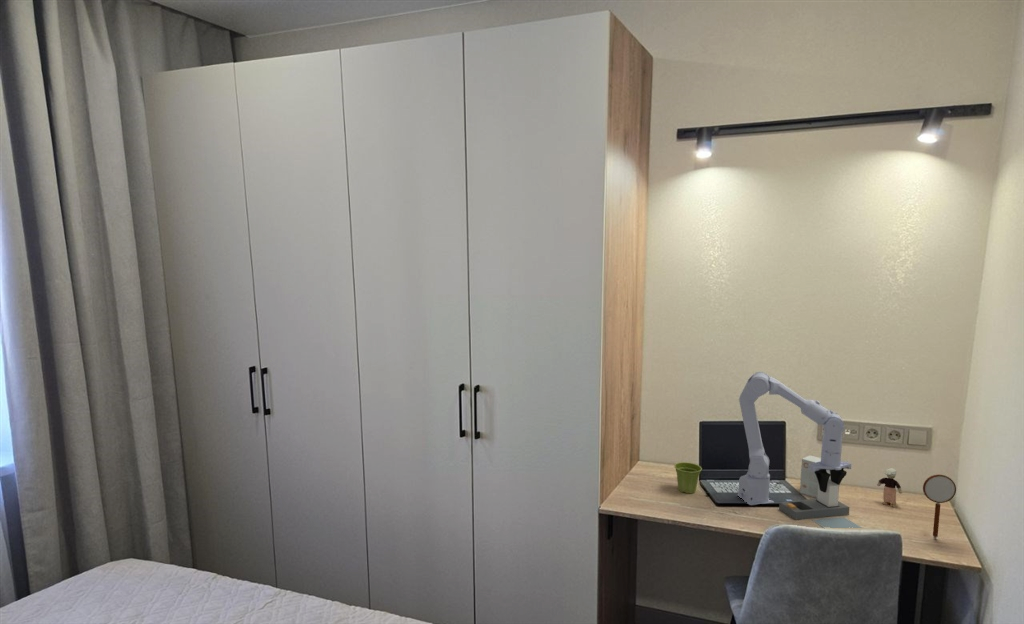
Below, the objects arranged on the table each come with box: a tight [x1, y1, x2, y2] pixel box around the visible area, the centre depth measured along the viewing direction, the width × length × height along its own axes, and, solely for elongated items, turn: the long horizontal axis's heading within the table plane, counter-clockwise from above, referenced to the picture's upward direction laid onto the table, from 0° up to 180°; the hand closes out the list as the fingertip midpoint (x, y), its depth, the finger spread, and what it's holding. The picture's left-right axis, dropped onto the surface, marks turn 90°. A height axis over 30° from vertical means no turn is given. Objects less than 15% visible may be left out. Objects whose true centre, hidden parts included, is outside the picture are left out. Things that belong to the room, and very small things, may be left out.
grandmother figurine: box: [876, 467, 903, 508], centre depth 201 cm, size 8×4×13 cm, turn 47°
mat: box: [811, 516, 863, 528], centre depth 184 cm, size 12×10×1 cm
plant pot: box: [674, 462, 703, 494], centre depth 211 cm, size 9×9×9 cm
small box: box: [799, 454, 831, 499], centre depth 208 cm, size 8×6×13 cm
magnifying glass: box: [922, 474, 957, 540], centre depth 176 cm, size 9×2×20 cm, turn 77°
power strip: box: [778, 498, 850, 521], centre depth 193 cm, size 20×8×4 cm, turn 103°
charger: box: [816, 479, 840, 507], centre depth 194 cm, size 4×5×8 cm
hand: (828, 490), depth 194 cm, fingers closed on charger, 4 cm apart
